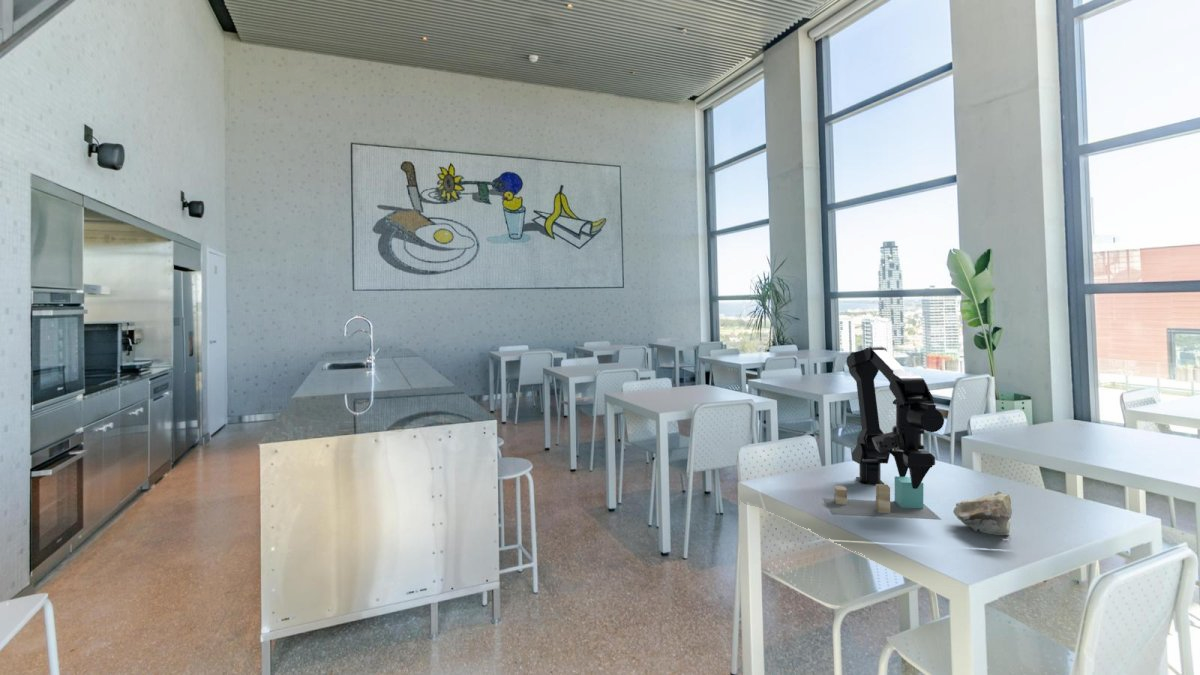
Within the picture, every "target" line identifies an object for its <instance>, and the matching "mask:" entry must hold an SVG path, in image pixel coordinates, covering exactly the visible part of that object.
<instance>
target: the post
mask: <svg viewBox="0 0 1200 675" xmlns="http://www.w3.org/2000/svg"><path fill="white" fill-rule="evenodd" d="M875 501H876V510H877V511H878V512H879V513H890V501H891V487H890V486H889V485H888V484H885V483H884V484H876V485H875Z"/></svg>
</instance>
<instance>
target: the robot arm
mask: <svg viewBox="0 0 1200 675" xmlns="http://www.w3.org/2000/svg"><path fill="white" fill-rule="evenodd" d="M846 366H847V367H848V373H849V375H850V376H851V377H852V378H853V379H854V381H855V383H856V390H857V392H856V393H857V397H858V398H857V399H858V400H857V401H858V408H859V409H858V410H859V416H860V417H859V418H860V425H861V430H860V431H859V434H858V436H857V438H856V446H855V448H854V449H853V450H852V452H851V458H852V461H853V462H855V463H857V464H858V466H859V468H858V471H859V476H856V477H855V479H856V480H857V482H859V484H861V485H874V486H876V484H885V482H884V481H882V480H881V474H882V472H881V464H889V459H890V455H892V456H893V458H894V461H895V464H896V468H897V472H898V477H907V473H908V470H909V477H911V483H912V488H913V489H917V488H918V487H919V485H920V483H921V482H923V480H924V478H925V477H926V475H927V474H928V472H929V470H930V469H932V468H933V467H934V466H936V457H935V456H934V455H933V454H932V453H931V452H929V451H928V450H926V449H925V446H924V445H923V444H922V435H924V434H925V432H929V433H936V432H938V431H940V430H941V429H942V428H943V426H944V423H945V418H944V416H943V414H942V412H940V410H938V409H937V406H936V404H935V401H934V400H933V399H934V396H933V394H932V393H931V391H930V389H929V387H928V384H927V382H926V381H925V379H924V378H923V377H922V376H920V375H919V374H917V373H916V372H913V371H910V370H907V369H905V368H904V367H903V366H902V365H901V363H899V362H898V361H897V360H896V359H895V358H894V357H893V356H892V355H891V354H890V353H889V352H888V351H887V348H886V347H883V346H868V347H865V348H864V349H862V350H861V349H860V350H858V351H852V352H850V354H849V355H848V356H847V357H846ZM879 372H881V374H882V375H883V376H884V377H885V379H887V380H888V382H889V385H888V386H889V387H888V388H889V390H890V392H891V393H892V394H893V396H894V398H895V399H894V400H893V401H892V404H893V405H895V408H896V409H895V410H896V411H895V425H893V427H892V430H891V432H886V433H884V432H883V430H882V429H881V427H880V418H879V412H878V403H877V394H876V387H875V379H876V377H877V375H878V373H879Z"/></svg>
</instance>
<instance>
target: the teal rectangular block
mask: <svg viewBox="0 0 1200 675" xmlns="http://www.w3.org/2000/svg"><path fill="white" fill-rule="evenodd" d="M894 501H895V502H896V503H897V504H898V505H899V506H900V507H902V508H923V504H924V482H923V481H922V482H921V483H920V485H919V487H918V488H917V489H913V488H912V483H911V477H910V476H905V477H900V476H894Z"/></svg>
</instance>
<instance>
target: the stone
mask: <svg viewBox="0 0 1200 675" xmlns="http://www.w3.org/2000/svg"><path fill="white" fill-rule="evenodd" d="M1011 501H1012V500H1011V496H1010V494H1003V493H1002V492H1001V491H997V492H996V493H994V494H993V493H990V494H986V495H983V496H981V497H978V498H975V499H970V500H969V499H967V500H962V501H960V502H956V503H955V507H954V509H953V514H954V516H955V517H956V518H957V519H958V520H959V521H961V522H962V524H963V525H965V526H968V527H970V528H971V529H972V530H973V531H974V532H975V533H976V532H977V533H980V534H981V533H982V534H989V535H995V536H1006V537H1007V536H1009V535H1010V532H1011V531H1010V529H1011V528H1010V527H1011V522H1010V521H1009V520H1011V518H1012V514H1013V513H1012V512H1013V509H1012V504H1011V503H1012V502H1011Z"/></svg>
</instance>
